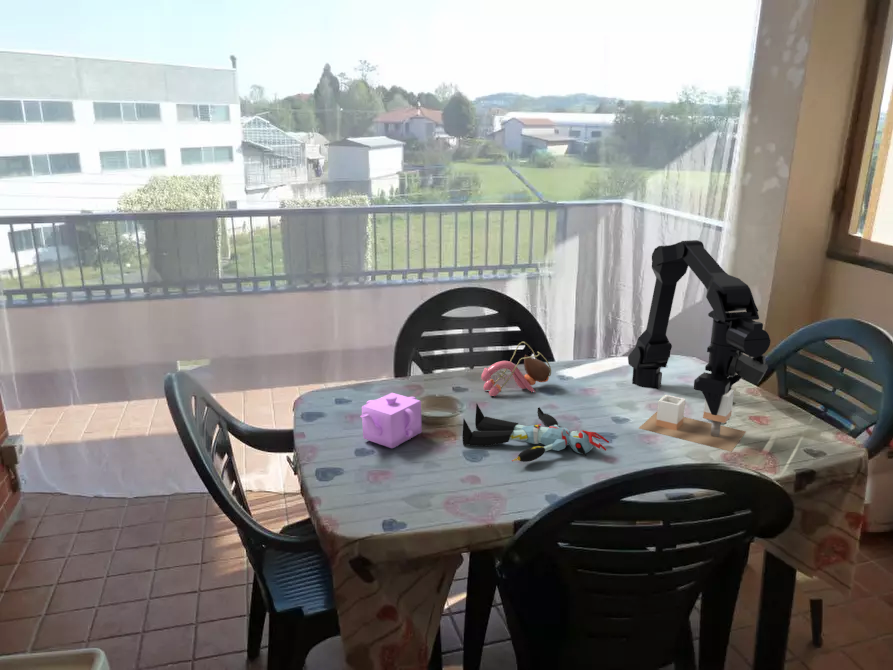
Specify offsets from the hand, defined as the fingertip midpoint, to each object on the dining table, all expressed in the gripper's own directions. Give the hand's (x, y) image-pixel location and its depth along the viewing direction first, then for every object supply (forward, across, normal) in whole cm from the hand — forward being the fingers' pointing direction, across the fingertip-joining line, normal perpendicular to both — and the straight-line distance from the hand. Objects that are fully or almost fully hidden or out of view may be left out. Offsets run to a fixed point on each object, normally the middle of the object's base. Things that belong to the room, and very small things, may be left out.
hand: (717, 411), depth 144 cm
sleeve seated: (+6, 0, +10) cm, 12 cm away
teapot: (+7, -41, +59) cm, 72 cm away
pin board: (+7, 0, +5) cm, 9 cm away
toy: (+8, -24, +31) cm, 40 cm away
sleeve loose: (+1, 0, 0) cm, 1 cm away
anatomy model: (+7, 0, +51) cm, 52 cm away
